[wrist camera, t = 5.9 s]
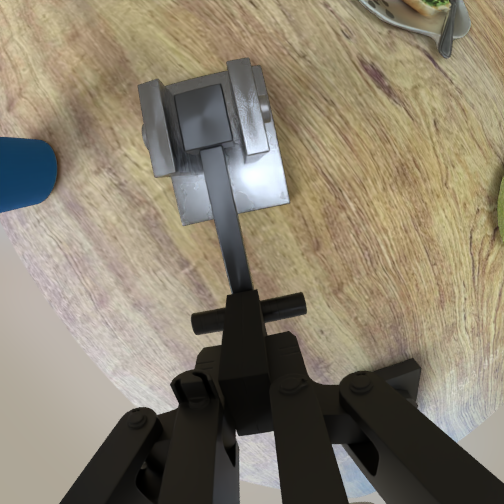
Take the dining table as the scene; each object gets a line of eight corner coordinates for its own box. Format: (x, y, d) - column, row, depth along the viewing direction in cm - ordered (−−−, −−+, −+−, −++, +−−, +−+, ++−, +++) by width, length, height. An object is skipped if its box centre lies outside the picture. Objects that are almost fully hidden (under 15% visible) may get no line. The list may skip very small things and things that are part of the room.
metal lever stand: (288, 202, 25) (332, 230, 13) (185, 223, 25) (135, 271, 13) (259, 69, 22) (275, -12, 10) (157, 92, 22) (92, 35, 10)
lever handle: (301, 303, 17) (310, 323, 15) (199, 323, 17) (194, 345, 15) (260, 89, 14) (263, 74, 12) (148, 115, 14) (133, 106, 12)
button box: (404, 416, 33) (415, 435, 29) (344, 436, 33) (352, 457, 29) (413, 357, 30) (428, 376, 26) (343, 380, 30) (353, 402, 27)
